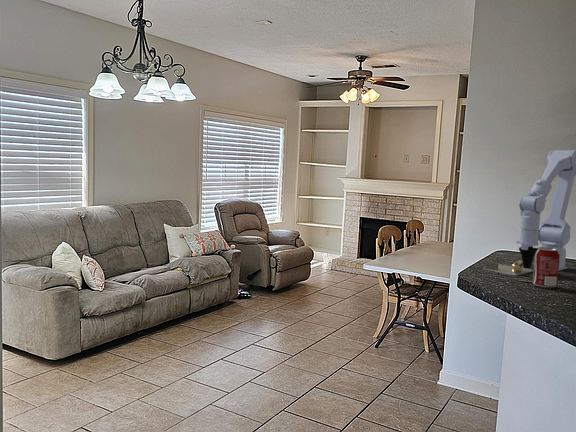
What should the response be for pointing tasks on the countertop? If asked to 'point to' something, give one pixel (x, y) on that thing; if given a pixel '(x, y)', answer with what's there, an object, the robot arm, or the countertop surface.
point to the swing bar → (517, 266)
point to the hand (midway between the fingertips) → (527, 267)
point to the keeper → (494, 266)
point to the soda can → (546, 267)
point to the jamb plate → (510, 270)
